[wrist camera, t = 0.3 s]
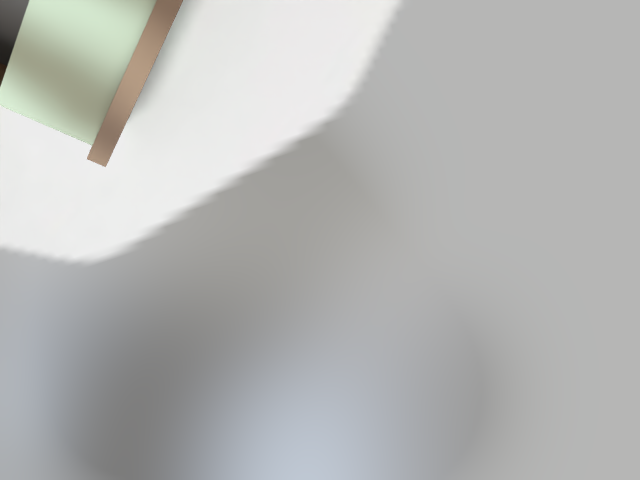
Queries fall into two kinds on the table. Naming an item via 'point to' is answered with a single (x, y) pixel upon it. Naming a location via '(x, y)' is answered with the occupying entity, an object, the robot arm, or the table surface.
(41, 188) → the table surface
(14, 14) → the multicoloured piece
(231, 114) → the table surface
